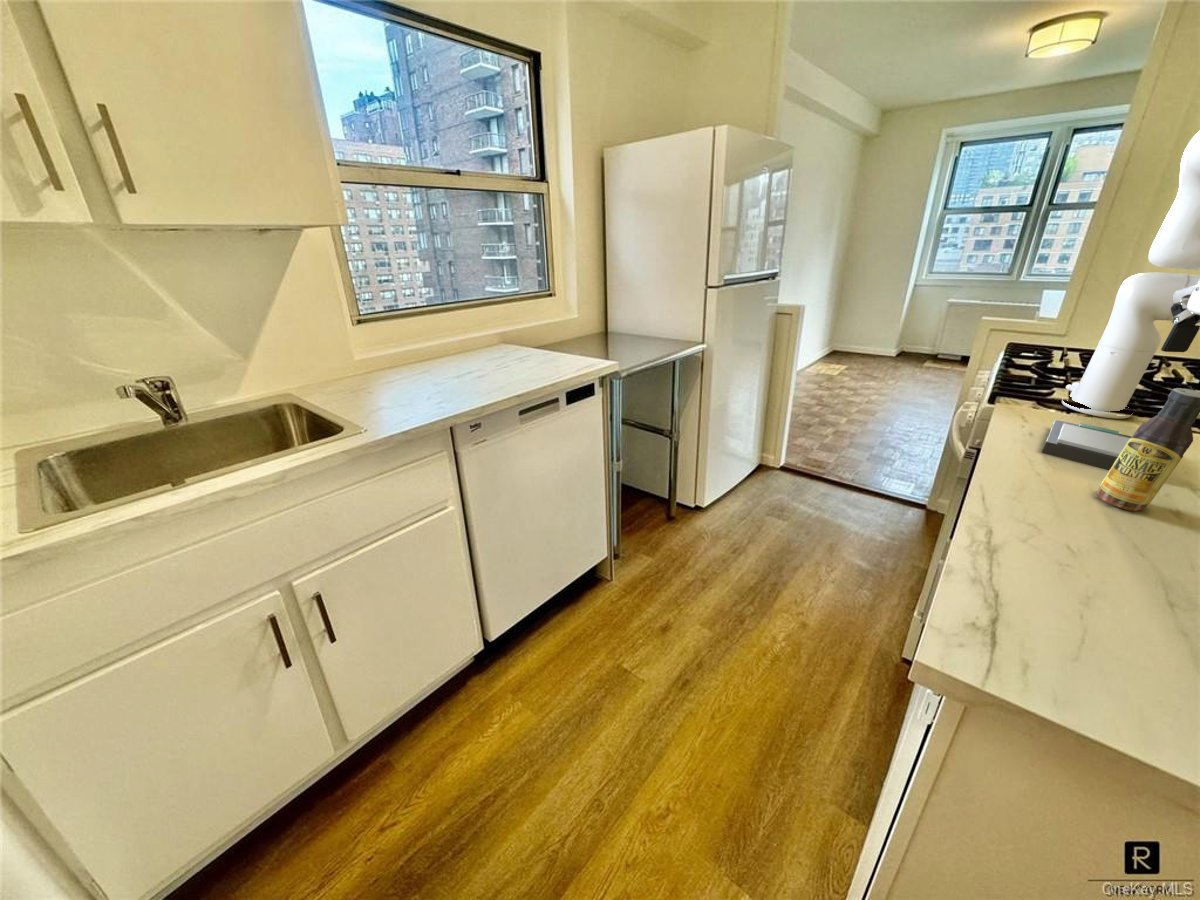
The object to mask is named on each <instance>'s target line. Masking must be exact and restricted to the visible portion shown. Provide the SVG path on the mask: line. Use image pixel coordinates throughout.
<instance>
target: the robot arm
mask: <svg viewBox="0 0 1200 900" xmlns="http://www.w3.org/2000/svg"><path fill="white" fill-rule="evenodd" d="M1179 170H1180V171H1179V188H1178V192H1177V194H1176V196H1175V197H1176V198H1175V200H1174V202H1173V204H1172V205H1171V208H1170V210H1169V211H1168V212H1167V215H1166V217H1165V219H1164V221H1163V223H1162V225H1161V226H1160V228H1159V230H1158V232H1157V234H1156V237H1155V238H1154V240H1153V242H1152V244H1151V246H1150V249H1149V251H1148V256H1147V260H1148V262H1149V263H1150V264H1152V265H1153V266H1156V267H1159V268H1165V269H1167V268H1168V269H1177V270H1178V269H1179V270H1180V269H1181V270H1196V271H1200V130H1198V132H1197V133H1195V134H1194V135H1193V136H1192V137H1191V139H1190V140H1189V141H1188V143H1187V145H1186V147H1185V149H1184V152H1183V155H1182V157H1181V162H1180V169H1179ZM1155 321H1169V322H1170V323H1171V324H1172V325H1173V326H1172V328H1171V330H1170V332H1169V333H1168V335H1167V337H1166V339H1165V341H1164V343H1163V345H1162V347H1160V346H1161V345H1160V344H1161V341H1162V340H1161V338H1162V337H1161V334H1160V332H1159V330H1158V328H1157V327H1156V326H1155V324H1154V322H1155ZM1198 324H1200V274H1188V273H1178V272H1177V273H1176V272H1161V271H1158V272H1156V271H1153V272H1141V273H1137V274H1134V275H1131V276H1130V277H1128V278H1126V279H1125V280H1124V281H1123V282H1122V284H1121V285H1120V286H1119V289H1118V290H1117V293H1116V295H1115V299H1114V303H1113V306H1112V310H1111V314H1110V317H1109V320H1108V322H1107V324H1106V327H1105V329H1104V331H1103V333H1102V335H1101V338H1100V339H1099V342H1098V344H1097V346H1096V348H1095V350H1094V352H1093V354H1092V356H1091V358H1090V361H1089V362H1088V365H1087V366H1086V368H1085V371H1084V373H1083V374H1082V377H1081V379H1080V381H1075V382H1073V383H1071V384H1067V385H1065V390H1067V391H1070V394H1069V396H1070V397H1072V400H1073V401H1075V402H1078V403H1080V404H1083V405H1085V406H1087V407H1089V408H1091V409H1084V408H1080V409H1079V408H1077V407H1074V406H1071V405H1069V404H1067V403H1065V402H1064V401H1063V399H1062V400H1061V404H1062V406H1064V407H1066V408H1068V409H1070V410H1072V411H1075V412H1078V413H1082V414H1085V415H1090V416H1094V417H1100V418H1104V419H1105V418H1106V419H1115V420H1117V419H1120V420H1121V419H1123V420H1124V419H1128V418H1131V417H1132V416H1133V413H1132V414H1131V415H1126V416H1117V415H1115V414H1111V413H1108V412H1104V411H1109V412H1110V411H1120V410H1123V409H1125V407H1128V406H1127V405H1128V404H1129V402H1130V400H1131V398H1132V396H1133V394H1134V393H1135V391H1136V389H1137V387H1138V385H1139V383H1140V382H1141V380H1142V378H1143V376H1144V374H1145V372H1146V371H1147V369H1148V367H1149V365H1150V363H1151V361H1152V359H1153V358H1154V356H1155V354H1156V353H1157V350H1158V349H1159V347H1160V350H1161V351H1162V352H1165V353H1186V352H1187V351H1188V350H1189V348H1190V347H1191V345H1192V344H1193V341H1194V339H1195V338H1196V336H1197V335H1198V332H1199V331H1200V325H1198ZM1067 401H1068V400H1067Z"/></svg>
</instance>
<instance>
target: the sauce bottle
mask: <svg viewBox="0 0 1200 900" xmlns="http://www.w3.org/2000/svg"><path fill="white" fill-rule="evenodd" d="M1199 415H1200V391H1198V390H1195V389H1190V388H1181V387H1176V388H1173V389H1172V390H1171V391H1170V393H1169V394H1168V395H1167V400H1166V402H1165V403H1164V405H1163V407H1162V408H1161V409H1160V411H1158V413H1157V414H1156V415H1155V416H1153V417H1151V418H1150V419H1148V420H1146V421H1145V422H1142V423H1141V424H1140V425H1139V426H1138V428H1137V429H1136V430H1135V432H1134V433H1133V434H1132V435H1131V436H1132V437H1131V438H1130V439H1129V441H1128V442H1127V444H1126V445H1125V447H1124V448H1123V450H1122V452H1121V453H1120V455H1119V456H1118V458H1117V460H1116V461H1115V463H1114V464H1113V466H1112V467H1111V469H1110V470H1108V471H1107V474H1106V475H1105V477H1104V478H1103V479H1102V481H1101V483H1100V485H1099V488H1098V489H1097V491H1096V496H1097V497H1098V499H1100V500H1101V501H1102V502H1104V503H1106V504H1108V505H1110V506H1113V507H1116V508H1119V509H1122V510H1125V511H1130V512H1134V511H1143V510H1145V509H1146V508H1147V507H1148V505H1150V504H1151V503H1152V502H1153V500H1154V499H1155V497H1156V496H1157V494H1158V493H1159V492H1160V490H1161V489H1162V488H1163V486H1164V484H1165V483H1166V481H1167V480H1168V479H1169V478H1170V476H1171V475H1172V473H1173V472H1174V471H1175V469H1176V468H1177V466H1178V465H1179V463H1180V462H1181V461H1182V459H1183V458H1184V455H1185V453H1186V452H1187V450H1188V449H1189V448H1190V446H1191V445H1192V444H1193V442H1194V434H1193V429H1192V427H1193V425H1194V423H1195V422H1196V419H1197V418H1198V416H1199Z"/></svg>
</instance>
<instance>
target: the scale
mask: <svg viewBox="0 0 1200 900" xmlns="http://www.w3.org/2000/svg"><path fill="white" fill-rule="evenodd" d="M1132 436H1133V435H1127V434H1123V433H1120V431H1119V430H1115V429H1109V428H1106V427H1101V426H1097V425H1092V424H1087V423H1082V422H1080V423H1079V424H1077V423H1073V422H1067V421H1064V420H1059V419H1054V421H1053V423H1052V425H1051V427H1050V429H1049V431H1048V434H1047V437H1046V440H1045V441H1044V444H1043V446H1042V449H1041V453H1042V454H1045V455H1046V454H1047V455H1051V456H1055V457H1057V458H1062V459H1065V460H1069V461H1073V462H1077V463H1082V464H1086V465H1089V466H1094V467H1098V468H1101V469H1104V470H1108V471H1109V470H1110V469H1111V467H1112V466H1113V464H1114V463H1115V461H1116V460H1117V458H1118V456H1119V455H1120V453H1121V452H1122V450H1123V448H1124V447H1125V445H1126V444H1127V442H1128V441H1129V439H1130V438H1131V437H1132Z"/></svg>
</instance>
